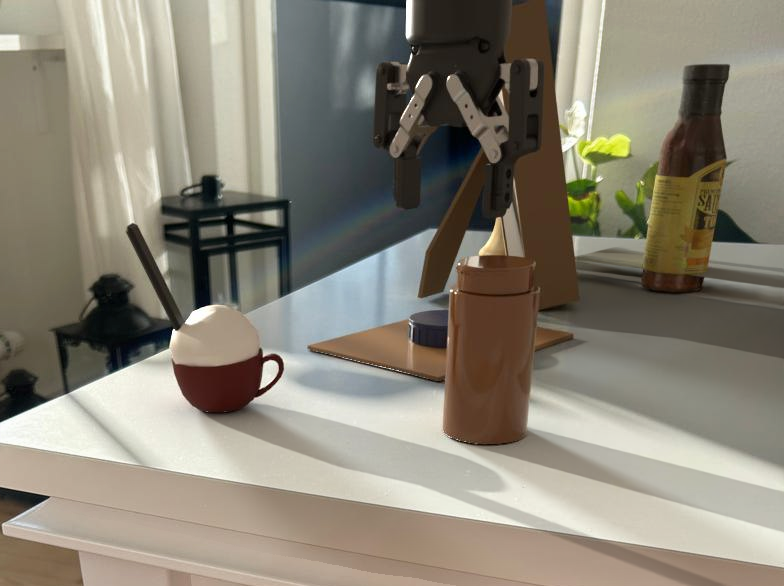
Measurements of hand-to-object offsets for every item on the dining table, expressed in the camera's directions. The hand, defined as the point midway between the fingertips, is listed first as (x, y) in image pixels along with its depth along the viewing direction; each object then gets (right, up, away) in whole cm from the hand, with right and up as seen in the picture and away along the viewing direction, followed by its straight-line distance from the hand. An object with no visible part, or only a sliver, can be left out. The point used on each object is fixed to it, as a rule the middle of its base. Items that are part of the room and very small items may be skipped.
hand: (449, 212), depth 80 cm
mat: (0, -9, +6) cm, 10 cm away
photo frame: (+8, +3, +25) cm, 26 cm away
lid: (0, -7, +5) cm, 9 cm away
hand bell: (+13, +12, +41) cm, 45 cm away
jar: (0, -20, -14) cm, 24 cm away
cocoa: (-18, -17, -8) cm, 26 cm away
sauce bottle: (+26, +2, +24) cm, 35 cm away
